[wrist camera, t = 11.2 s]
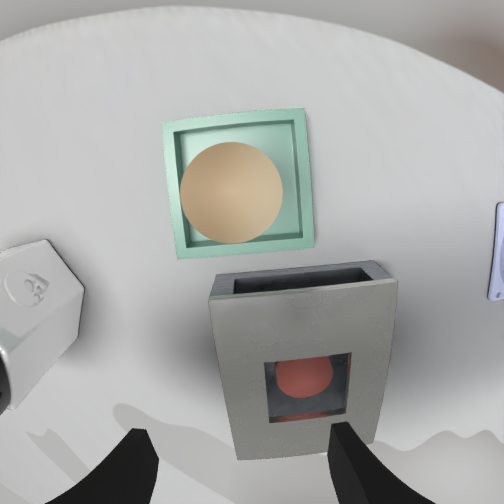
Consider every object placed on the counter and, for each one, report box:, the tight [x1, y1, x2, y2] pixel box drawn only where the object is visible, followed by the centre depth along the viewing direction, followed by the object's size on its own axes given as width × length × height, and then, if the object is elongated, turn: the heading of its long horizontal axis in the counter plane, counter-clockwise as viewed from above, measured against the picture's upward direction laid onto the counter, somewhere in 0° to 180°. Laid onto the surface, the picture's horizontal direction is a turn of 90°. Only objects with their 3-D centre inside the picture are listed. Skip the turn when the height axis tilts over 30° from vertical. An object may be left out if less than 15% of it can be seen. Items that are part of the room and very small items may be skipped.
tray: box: [162, 108, 314, 260], centre depth 17 cm, size 8×8×2 cm
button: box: [275, 356, 333, 398], centre depth 19 cm, size 4×4×1 cm
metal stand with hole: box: [208, 261, 398, 460], centre depth 19 cm, size 10×13×4 cm
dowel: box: [180, 142, 283, 244], centre depth 13 cm, size 3×3×9 cm
